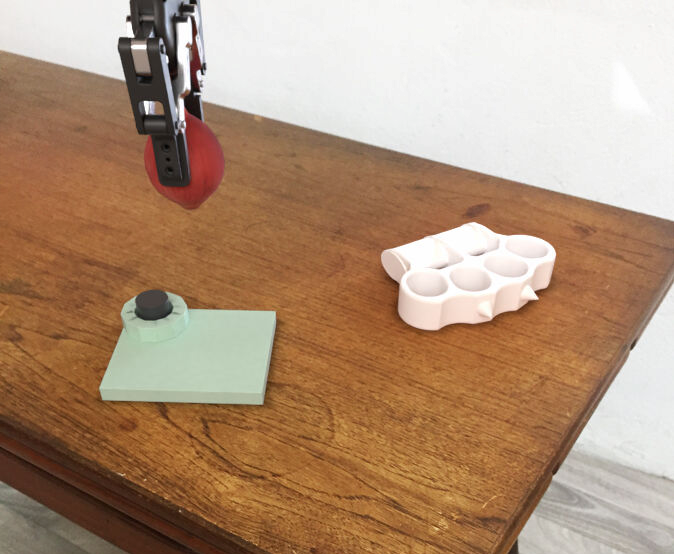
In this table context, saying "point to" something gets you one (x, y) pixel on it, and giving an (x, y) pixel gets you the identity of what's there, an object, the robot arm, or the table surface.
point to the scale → (191, 356)
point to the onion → (192, 165)
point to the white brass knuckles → (467, 275)
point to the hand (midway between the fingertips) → (184, 163)
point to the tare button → (152, 305)
